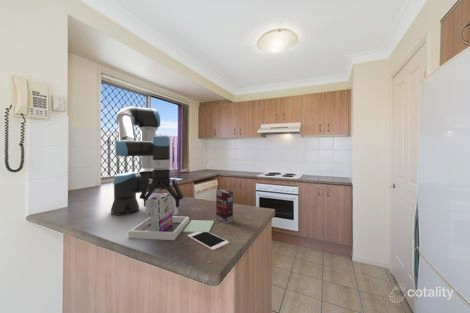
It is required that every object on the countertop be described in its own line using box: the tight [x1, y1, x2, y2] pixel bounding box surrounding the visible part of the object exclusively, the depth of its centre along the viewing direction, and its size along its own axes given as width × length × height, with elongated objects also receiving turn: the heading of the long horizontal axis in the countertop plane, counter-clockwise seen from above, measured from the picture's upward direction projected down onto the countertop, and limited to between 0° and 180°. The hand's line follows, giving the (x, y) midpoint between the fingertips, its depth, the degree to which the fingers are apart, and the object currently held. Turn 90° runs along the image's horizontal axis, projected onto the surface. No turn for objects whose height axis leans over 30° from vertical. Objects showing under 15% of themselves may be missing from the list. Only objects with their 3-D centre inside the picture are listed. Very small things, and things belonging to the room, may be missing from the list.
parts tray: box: [128, 215, 190, 241], centre depth 94 cm, size 20×20×3 cm
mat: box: [182, 219, 215, 234], centre depth 97 cm, size 12×14×1 cm
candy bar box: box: [149, 192, 173, 232], centre depth 93 cm, size 11×5×16 cm, turn 168°
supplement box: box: [215, 189, 234, 224], centre depth 106 cm, size 9×5×16 cm, turn 47°
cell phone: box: [186, 232, 230, 252], centre depth 84 cm, size 9×18×1 cm, turn 46°
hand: (161, 213), depth 93 cm, fingers open, 13 cm apart
